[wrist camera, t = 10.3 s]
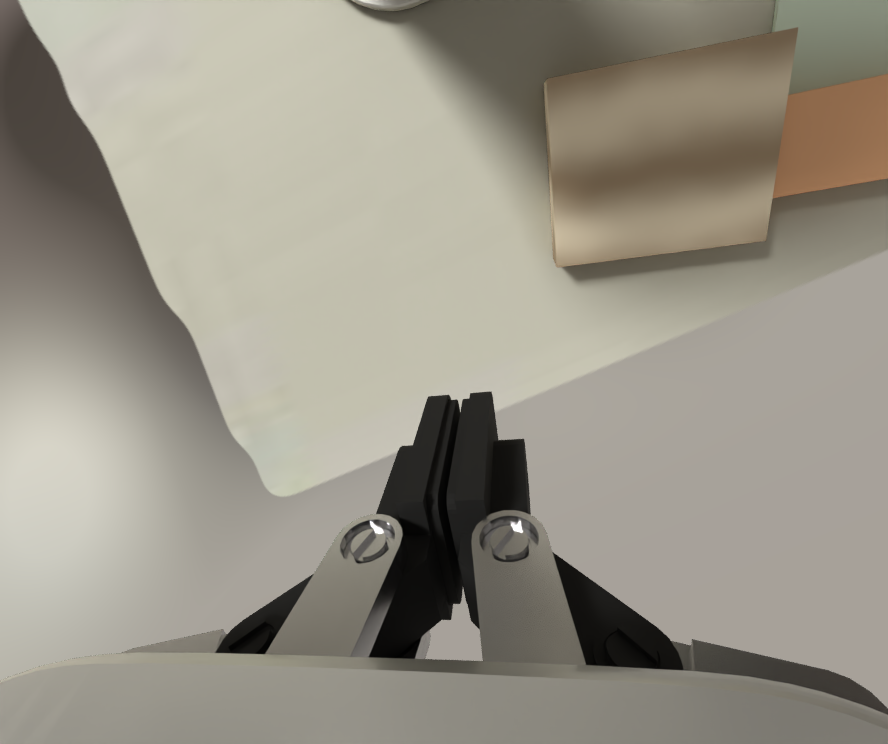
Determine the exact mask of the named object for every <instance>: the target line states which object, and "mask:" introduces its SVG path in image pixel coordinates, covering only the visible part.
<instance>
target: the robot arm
mask: <svg viewBox="0 0 888 744" xmlns="http://www.w3.org/2000/svg"><path fill="white" fill-rule="evenodd" d="M352 1H353V2H355V3H357V4H358V5H361V6H364V7H368V8H371V9H374V10H381V11H398V10H404V9H409V8H413V7H415V6H417V5H420V4H422V3H424V2H426V1H429V0H352ZM525 452H526V451H525V442H524V439H514V440H498V434H497V427H496V419H495V412H494V404H493V397H492V392H480V393H470V399H463V401H462V407H461V413H460V409H459V404H458V400H451V398H450V396H449V395H442V396H430V397H428V399H427V402H426V405H425V408H424V411H423V415H422V418H421V421H420V424H419V427H418V431H417V434H416V437H415V440H414V444H413V445H412V446H402V447H400V449H399V451H398V453H397V456H396V459H395V462H394V465H393V467H392V470H391V473H390V476H389V479H388V482H387V485H386V487H385V490H384V493H383V496H382V499H381V501H380V504H379V507H378V510H377V513H376V514H372V515H368V516H364V517H361V518H359V519H357V520H355V521H352V522H351V523H350V524H348V525H347V526H346V527H344V528H343V529H342V530H341V532H340V533H339V534H338V535H337V537H336V538H335V540H334V542H333V543H332V545H331V547H330V548H329V550H328V551H327V553H326V555H325V556H324V558H323V560H322V561H321V563H320V565H319V566H318V568H317V570H316V571H315V573H314V574H313V575H311V576H310V577H308V578H307V579H305V580H304V581H302V582H301V583H299V584H298V585H296V586H294V587H293V588H291V589H290V590H288V591H287V592H285V593H284V594H282V595H281V596H279V597H278V598H276V599H275V600H273V601H272V602H270V603H269V604H267V605H266V606H264V607H263V608H261V609H259V610H258V611H256V612H255V613H253V614H252V615H250V616H249V617H248V618H246V619H244V620H243V621H242V622H240V623H239V624H238V625H237V626H235V627H234V628H233V629H232V630H231V631H230V632H229V633H228V634H226V633H225V632H224V630H223V629H221V630H216V631H212V632H207V633H202V634H198V635H193V636H188V637H184V638H179V639H174V640H170V641H165V642H161V643H156V644H151V645H147V646H142V647H137V648H133V649H131V650H128V651H125V652H122V653H116V654H102V655H95V656H87V657H79V658H73V659H68V660H64V661H60V662H56V663H51V664H47V665H43V666H39V667H36V668H33V669H30V670H27V671H25V672H22V673H19V674H16V675H13V676H10V677H7V678H5V679H3V680H1V681H0V744H888V708H887V707H886V706H885V705H884V704H883V703H882V702H881V701H879V699H878V698H877V697H875V696H874V695H873V694H872V693H871V692H870V691H869V690H867V689H866V688H864V687H862V686H861V685H859V684H858V683H856V682H854V681H853V680H851V679H850V678H847V677H845V676H842V675H839V674H837V673H834V672H831V671H829V670H825V669H820V668H816V667H811V666H807V665H803V664H798V663H794V662H789V661H785V660H781V659H776V658H772V657H768V656H763V655H759V654H755V653H750V652H746V651H741V650H737V649H733V648H728V647H724V646H720V645H715V644H711V643H707V642H702V641H697V640H693V639H692V642H691V643H692V644H691V645H686V644H682V643H678V642H674V641H670V639H669V638H668V637H667V636H666V635H665V634H663V632H662V631H660V630H659V629H658V628H657V627H656V626H654V625H653V624H651V623H650V622H649V621H648V620H646V619H645V618H643V617H642V616H641V615H639V614H638V613H636V612H635V611H633V610H632V609H631V608H629V607H628V606H627V605H625V604H624V603H622V602H621V601H620V600H618V599H617V598H615V597H614V596H613V595H611V594H610V593H609V592H607V591H606V590H604V589H603V588H602V587H600V586H599V585H597V584H596V583H595V582H593V581H592V580H590V579H589V578H588V577H586V576H585V575H583V574H582V573H581V572H579V571H578V570H577V569H575V568H574V567H572V566H571V565H569V564H568V563H567V562H565V561H564V560H563V559H561V558H560V557H558V556H557V555H556V554H554V553H553V552H552V549H551V546H550V542H549V539H548V536H547V533H546V530H545V529H544V527H543V525H542V523H540V522H539V521H538V520H537V519H536V518H535V517H533V516H531V513H530V498H529V484H528V473H527V461H526V453H525ZM463 588H464V592H465V598H466V602H467V604H468V608H469V613H470V618H471V621H472V622H473V623H474V624H475V625H476V626H477V627H478V628H479V629H480V636H481V646H482V656H483V661H461V660H460V661H459V660H432V659H425V658H426V654H427V651H428V648H429V643H430V637H431V636H430V629H431V628H432V627H434V626H435V625H436V624H437V623H438V622H439V621H441V620H451V616H452V608H453V604H460V602H461V598H462V589H463Z"/></svg>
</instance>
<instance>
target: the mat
mask: <svg viewBox="0 0 888 744" xmlns="http://www.w3.org/2000/svg"><path fill="white" fill-rule="evenodd" d="M796 27H798V34H797V40H796V47H795V53H794V60H793V66H792V73H791V80H790V86H789V93H788V95H789V94H794V93H799V92H803V91H808V90H813V89H818V88H822V87H827V86H832V85H836V84H841V83H846V82H851V81H855V80H860V79H865V78H870V77H874V76H879V75H884V74H888V0H776V3H775V11H774V19H773V26H772V32H777V31H782V30H787V29H792V28H796Z"/></svg>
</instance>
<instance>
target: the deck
mask: <svg viewBox="0 0 888 744" xmlns="http://www.w3.org/2000/svg"><path fill="white" fill-rule="evenodd" d="M797 34H798V27H796V28H792V29H787V30H782V31H777V32H772V33H767V34H762V35H757V36H753V37H748V38H743V39H738V40H733V41H728V42H723V43H718V44H713V45H709V46H704V47H699V48H694V49H689V50H684V51H679V52H674V53H669V54H665V55H660V56H655V57H650V58H645V59H640V60H635V61H630V62H626V63H621V64H616V65H611V66H606V67H601V68H596V69H591V70H586V71H582V72H577V73H572V74H567V75H562V76H557V77H552V78H547V80H546V81H545V83H544V99H545V117H546V135H547V154H548V172H549V190H550V209H551V227H552V245H553V259H554V262H555V264H556V267H565V266H573V265H581V264H589V263H596V262H604V261H612V260H620V259H628V258H636V257H643V256H651V255H659V254H667V253H675V252H683V251H690V250H698V249H706V248H714V247H722V246H730V245H738V244H745V243H753V242H761V241H766V238H767V231H768V224H769V218H770V211H771V205H772V198H773V191H774V185H775V178H776V172H777V165H778V159H779V152H780V145H781V139H782V132H783V126H784V119H785V113H786V106H787V99H788V93H789V86H790V80H791V73H792V66H793V60H794V53H795V47H796V40H797Z"/></svg>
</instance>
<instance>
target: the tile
mask: <svg viewBox="0 0 888 744" xmlns="http://www.w3.org/2000/svg"><path fill="white" fill-rule="evenodd" d="M882 179H888V74H884V75H879V76H874V77H870V78H865V79H860V80H855V81H851V82H846V83H841V84H836V85H832V86H827V87H822V88H818V89H813V90H808V91H803V92H799V93H794V94H789V95H788V99H787V106H786V113H785V119H784V126H783V132H782V139H781V145H780V152H779V159H778V165H777V172H776V178H775V185H774V191H773V198H777V197H783V196H789V195H795V194H800V193H806V192H812V191H818V190H824V189H829V188H835V187H841V186H847V185H853V184H859V183H864V182H870V181H876V180H882Z"/></svg>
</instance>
